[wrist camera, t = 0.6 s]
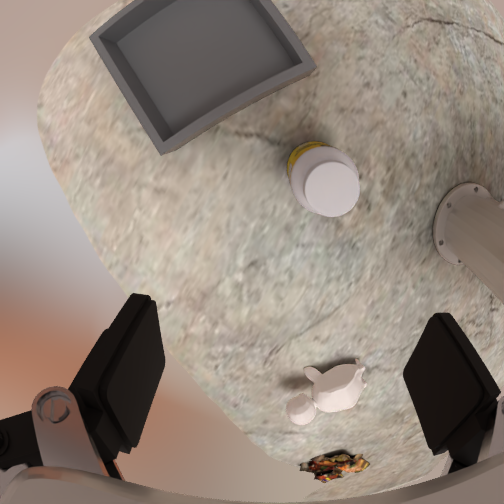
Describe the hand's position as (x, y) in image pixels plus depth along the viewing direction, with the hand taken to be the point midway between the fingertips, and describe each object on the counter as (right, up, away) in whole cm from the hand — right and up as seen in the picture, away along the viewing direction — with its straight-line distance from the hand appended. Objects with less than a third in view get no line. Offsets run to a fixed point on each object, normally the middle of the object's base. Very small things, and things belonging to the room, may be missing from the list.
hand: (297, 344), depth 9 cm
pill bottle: (+6, +13, +24) cm, 28 cm away
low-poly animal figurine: (+12, -20, +39) cm, 45 cm away
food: (+24, -60, +58) cm, 87 cm away
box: (-7, +26, +18) cm, 33 cm away
